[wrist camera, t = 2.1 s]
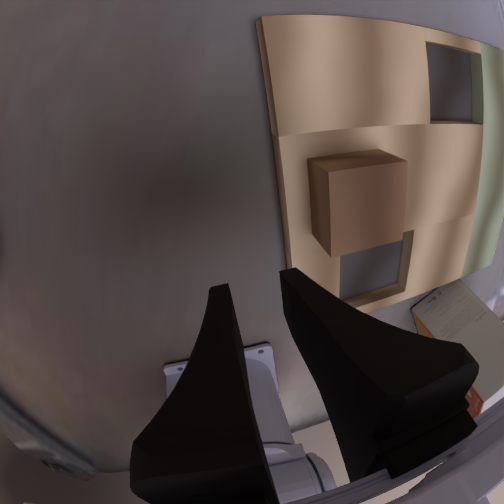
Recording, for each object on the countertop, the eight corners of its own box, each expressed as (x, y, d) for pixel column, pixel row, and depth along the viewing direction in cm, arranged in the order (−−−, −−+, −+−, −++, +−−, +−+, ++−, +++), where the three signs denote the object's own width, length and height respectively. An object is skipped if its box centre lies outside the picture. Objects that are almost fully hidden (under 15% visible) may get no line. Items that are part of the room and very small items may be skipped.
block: (312, 234, 20) (331, 258, 17) (306, 158, 17) (328, 172, 15) (378, 219, 20) (402, 239, 18) (379, 149, 18) (407, 161, 15)
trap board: (291, 321, 25) (297, 333, 24) (255, 21, 14) (261, 16, 13) (483, 257, 28) (491, 264, 26) (500, 52, 16) (512, 54, 15)
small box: (408, 308, 28) (483, 403, 17) (454, 272, 27) (535, 353, 16) (419, 345, 32) (476, 426, 21) (458, 314, 32) (520, 387, 20)
